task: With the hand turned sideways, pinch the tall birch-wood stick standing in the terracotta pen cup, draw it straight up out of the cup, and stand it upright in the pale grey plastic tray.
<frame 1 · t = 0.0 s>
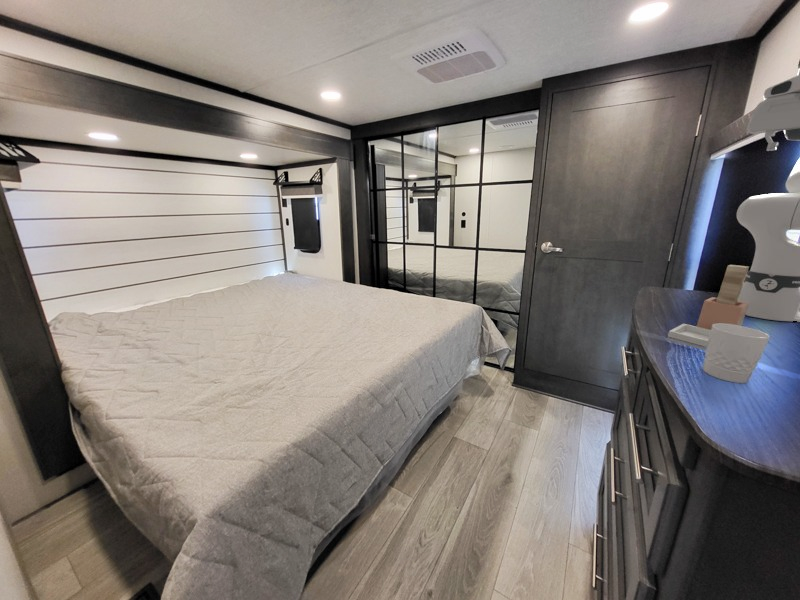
white cup: (723, 375, 64), on the table
birch stick: (717, 329, 87), point 1 cm above the table, touching terracotta cup
grey tray: (700, 342, 80), on the table
terracotta cup: (716, 332, 87), on the table
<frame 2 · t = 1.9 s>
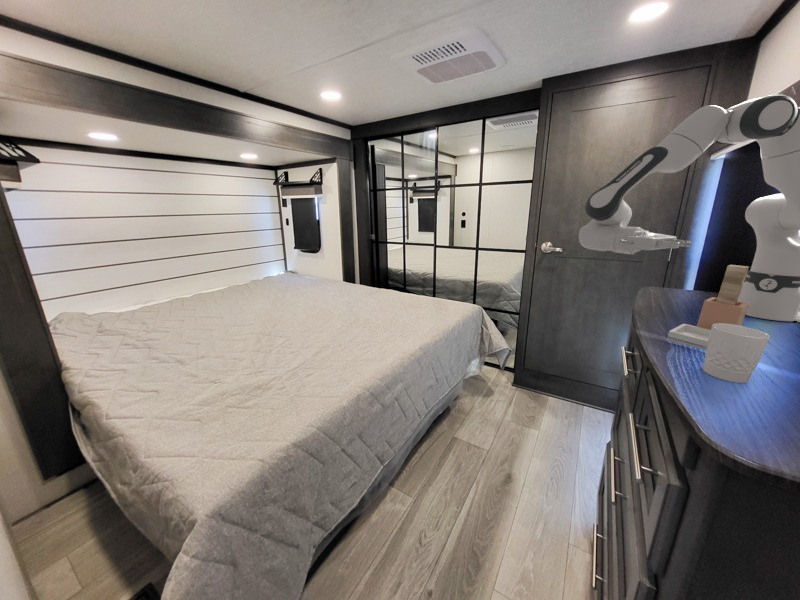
hand: (684, 244, 90), 23 cm above the table, tool horizontal, fingers open, 8 cm apart
nothing on the table moved.
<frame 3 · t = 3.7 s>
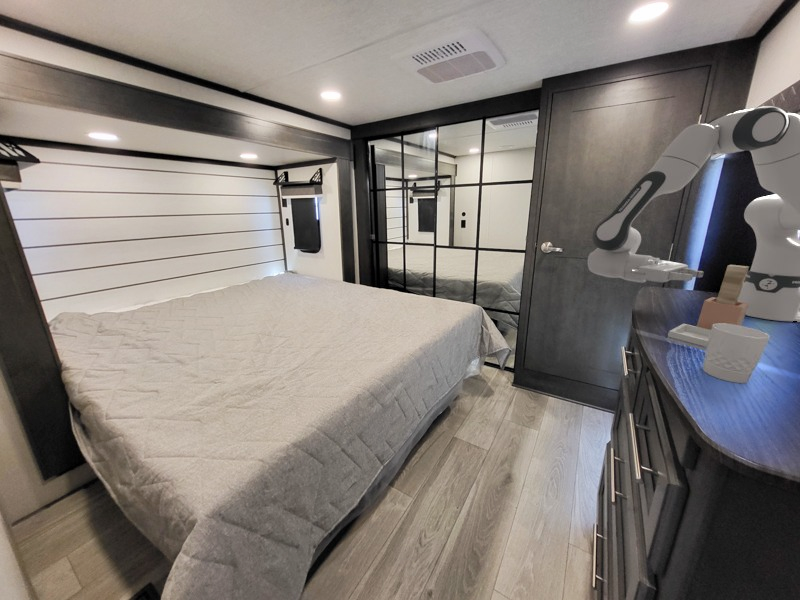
hand: (697, 276, 89), 15 cm above the table, tool horizontal, fingers open, 8 cm apart
nothing on the table moved.
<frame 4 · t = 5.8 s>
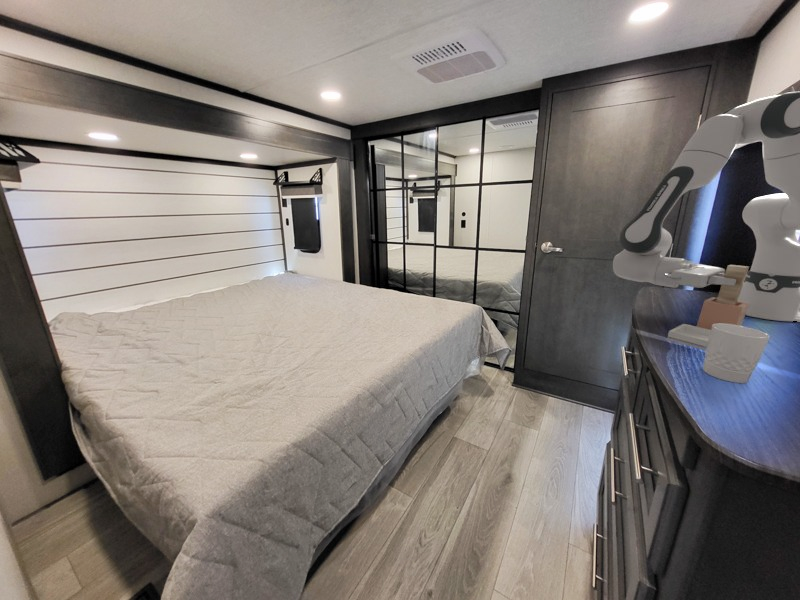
hand: (738, 281, 82), 15 cm above the table, tool horizontal, fingers closed on birch stick, 3 cm apart
birch stick: (717, 329, 87), point 1 cm above the table, touching gripper, terracotta cup
everything else where it was.
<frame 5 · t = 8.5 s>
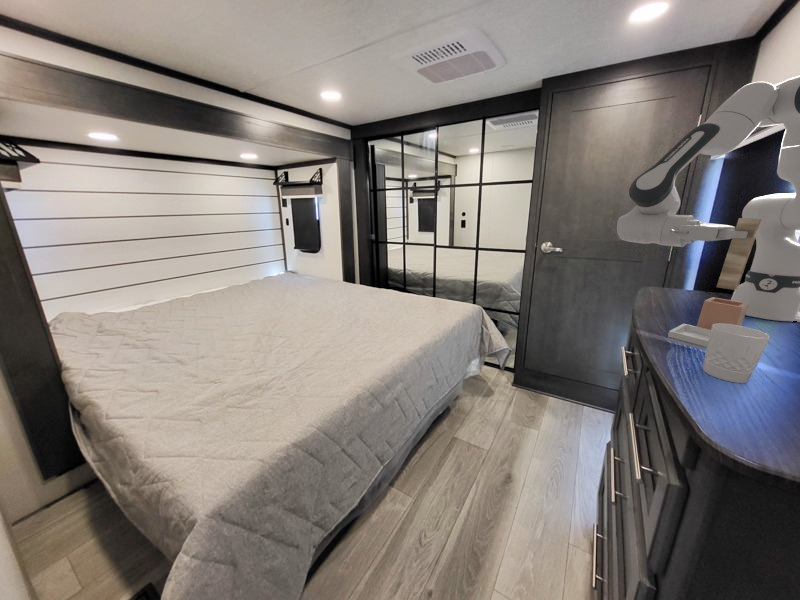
hand: (749, 234, 78), 27 cm above the table, tool horizontal, fingers closed on birch stick, 3 cm apart
birch stick: (726, 287, 82), point 13 cm above the table, touching gripper
everything else where it was.
when the fingers open (16 cm above the table, at t = 11.1 s): birch stick stays where it is, resting on grey tray.
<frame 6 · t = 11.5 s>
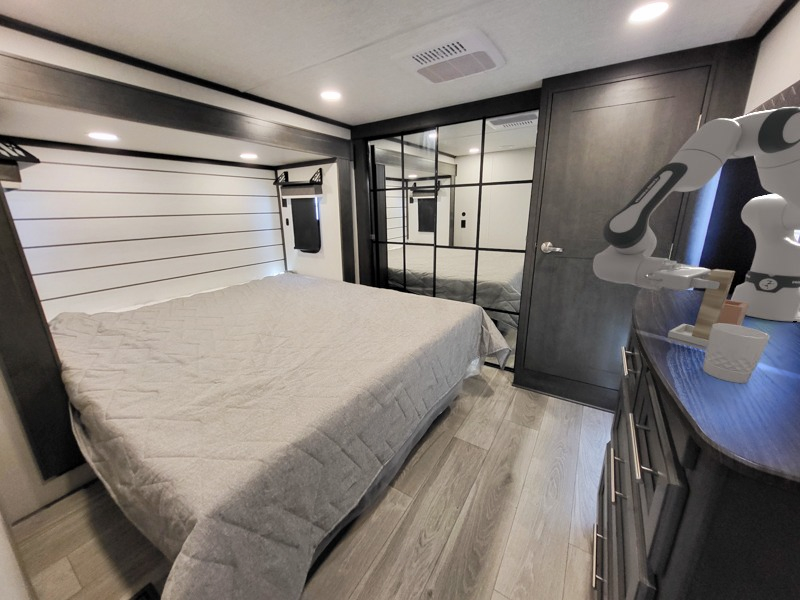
hand: (724, 283, 75), 16 cm above the table, tool horizontal, fingers open, 8 cm apart
birch stick: (701, 339, 80), point 1 cm above the table, touching grey tray
everything else where it was.
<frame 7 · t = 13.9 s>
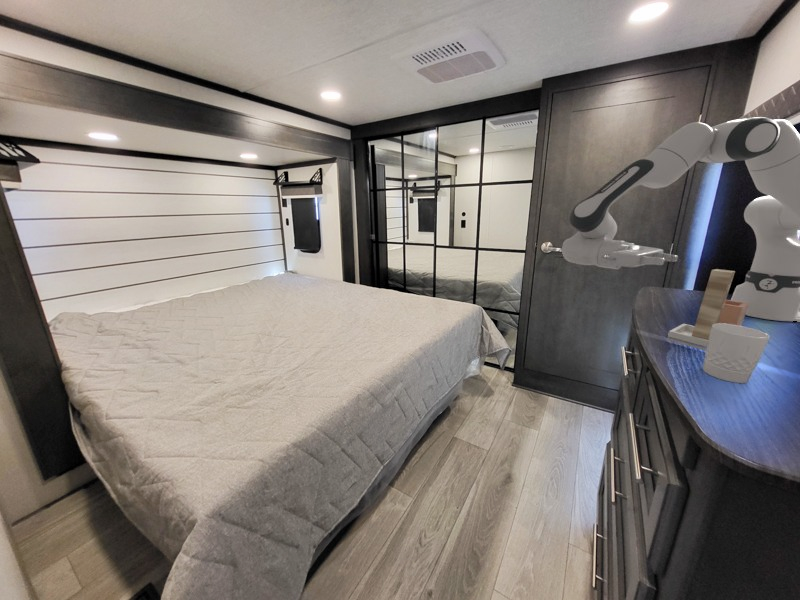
hand: (670, 260, 85), 20 cm above the table, tool horizontal, fingers open, 8 cm apart
nothing on the table moved.
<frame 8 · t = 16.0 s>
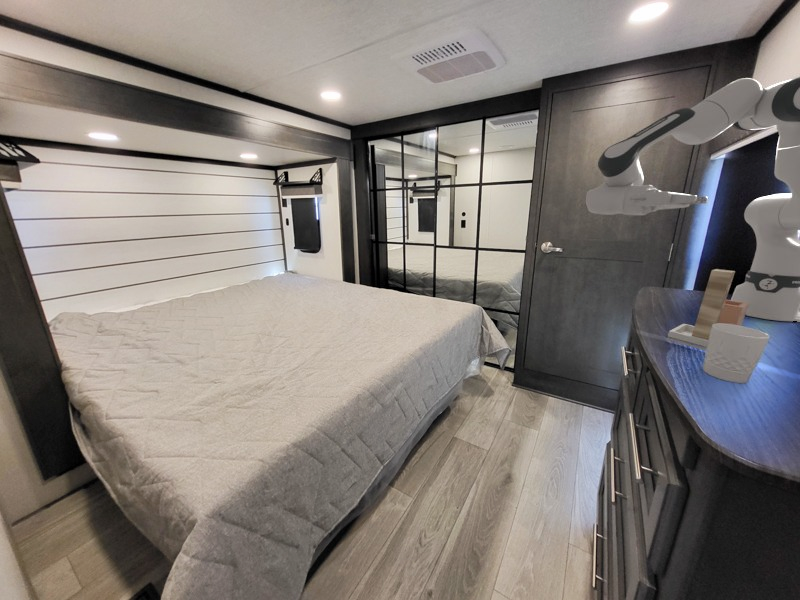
hand: (701, 199, 83), 36 cm above the table, tool horizontal, fingers open, 8 cm apart
nothing on the table moved.
at the end: birch stick inside the target area on the grey tray (0.1 cm from its centre), point 1.0 cm above the grey tray's base; birch stick tilted 0°; the gripper is holding nothing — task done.
